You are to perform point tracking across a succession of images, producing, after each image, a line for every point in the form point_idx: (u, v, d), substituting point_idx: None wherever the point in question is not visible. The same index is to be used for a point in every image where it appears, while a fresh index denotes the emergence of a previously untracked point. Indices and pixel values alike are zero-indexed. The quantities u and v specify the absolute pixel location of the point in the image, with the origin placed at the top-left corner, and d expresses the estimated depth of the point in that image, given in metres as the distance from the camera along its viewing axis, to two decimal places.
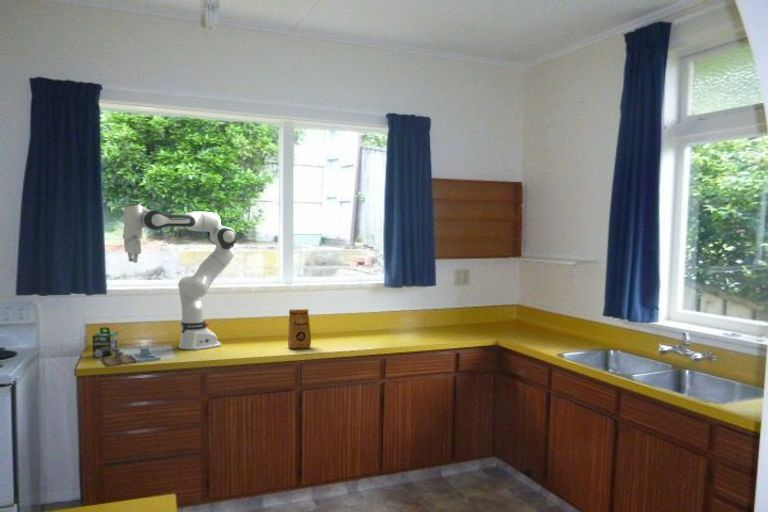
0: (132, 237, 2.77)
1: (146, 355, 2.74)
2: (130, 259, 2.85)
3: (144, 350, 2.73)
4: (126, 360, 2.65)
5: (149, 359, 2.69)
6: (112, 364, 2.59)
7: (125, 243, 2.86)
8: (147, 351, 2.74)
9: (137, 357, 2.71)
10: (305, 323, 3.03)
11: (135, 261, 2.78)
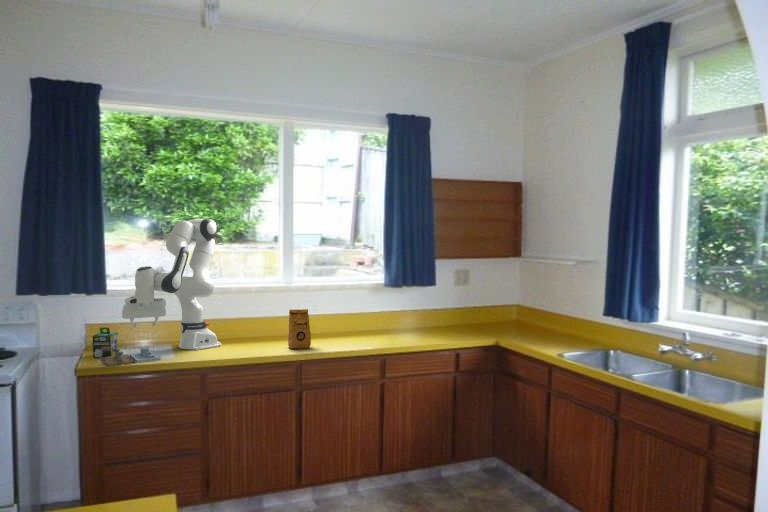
0: (153, 300, 2.75)
1: (146, 355, 2.74)
2: None
3: (144, 350, 2.73)
4: (126, 360, 2.65)
5: (149, 359, 2.69)
6: (112, 364, 2.59)
7: (128, 309, 2.67)
8: (147, 351, 2.74)
9: (137, 357, 2.71)
10: (305, 323, 3.03)
11: None
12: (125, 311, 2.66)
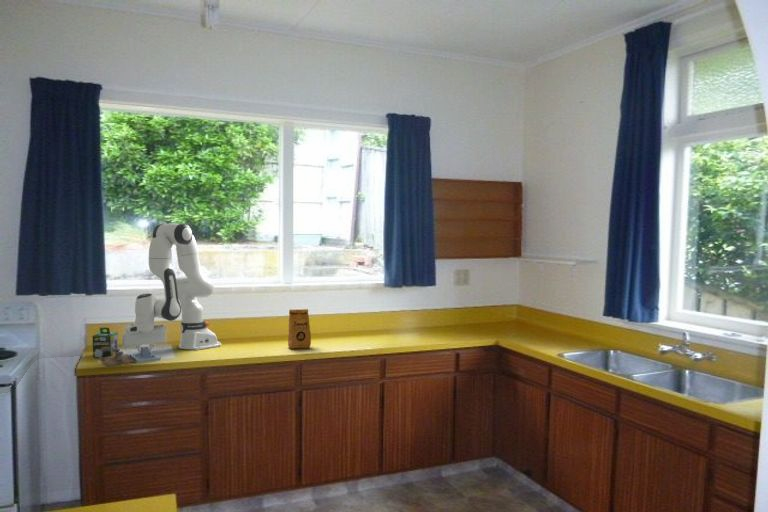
0: (154, 327, 2.76)
1: (146, 355, 2.74)
2: None
3: (144, 350, 2.73)
4: (126, 360, 2.65)
5: (149, 359, 2.69)
6: (112, 364, 2.59)
7: (128, 337, 2.68)
8: (147, 351, 2.74)
9: (137, 357, 2.71)
10: (305, 323, 3.03)
11: None
12: (125, 339, 2.67)
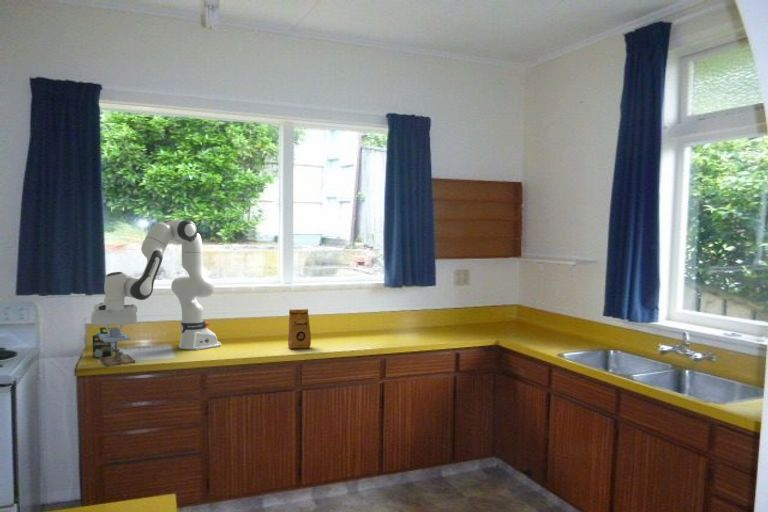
0: (124, 307, 2.67)
1: (116, 335, 2.64)
2: None
3: (113, 330, 2.64)
4: (126, 360, 2.65)
5: (118, 339, 2.60)
6: (112, 364, 2.59)
7: (97, 316, 2.59)
8: (117, 331, 2.65)
9: (106, 337, 2.62)
10: (305, 323, 3.03)
11: None
12: (94, 318, 2.58)
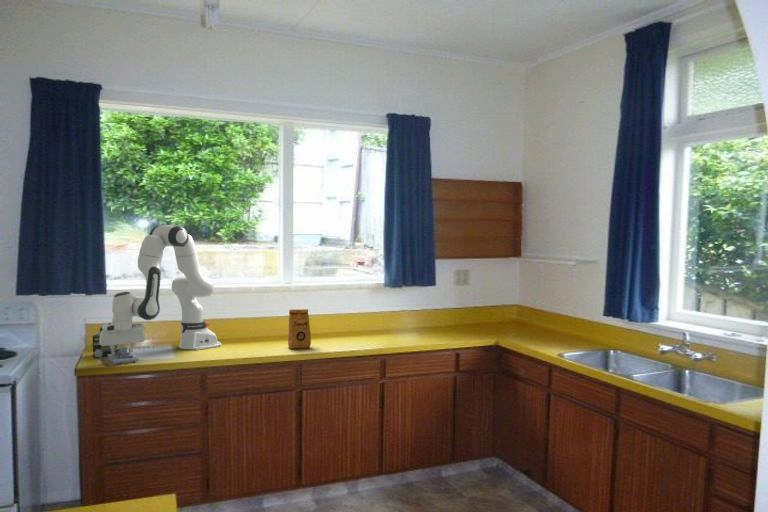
0: (132, 326, 2.70)
1: (124, 355, 2.67)
2: None
3: (122, 350, 2.67)
4: None
5: (127, 359, 2.63)
6: (112, 364, 2.59)
7: (105, 336, 2.62)
8: (125, 351, 2.67)
9: (115, 357, 2.65)
10: (305, 323, 3.03)
11: None
12: (102, 338, 2.61)
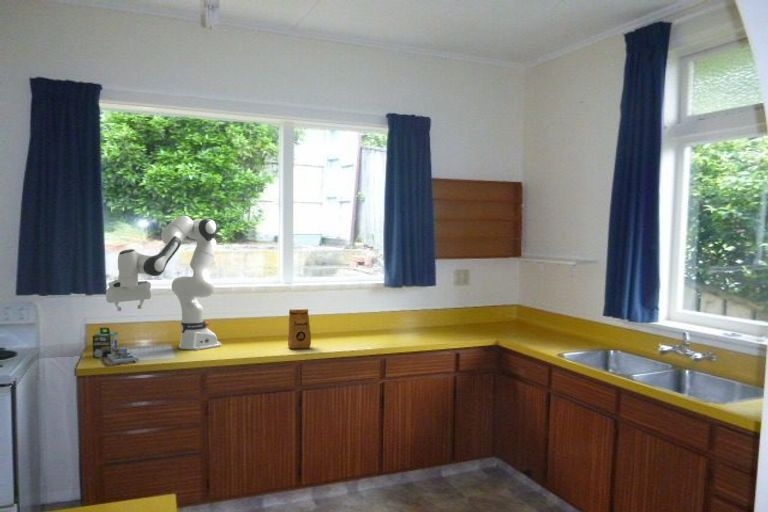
0: (138, 283, 2.73)
1: (124, 355, 2.67)
2: None
3: (122, 350, 2.67)
4: None
5: (127, 359, 2.63)
6: (112, 364, 2.59)
7: (112, 293, 2.65)
8: (125, 351, 2.67)
9: (115, 357, 2.65)
10: (305, 323, 3.03)
11: None
12: (109, 295, 2.64)
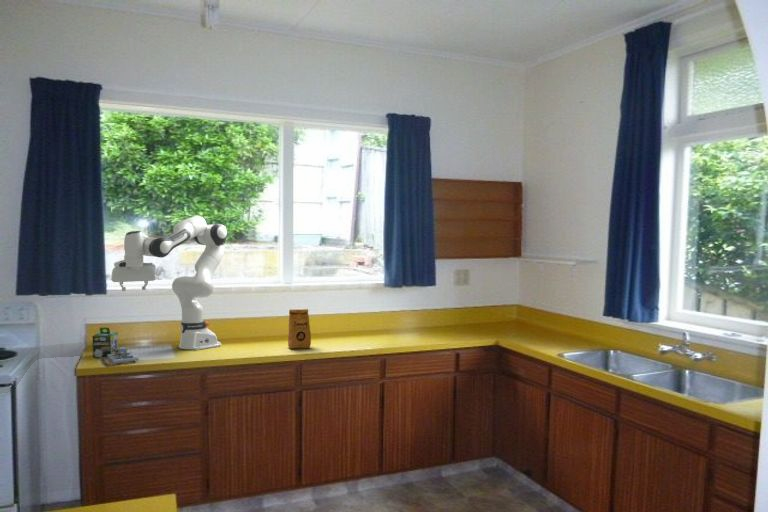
0: (143, 265, 2.76)
1: (124, 355, 2.67)
2: None
3: (122, 350, 2.67)
4: None
5: (127, 359, 2.63)
6: (112, 364, 2.59)
7: (117, 272, 2.69)
8: (125, 351, 2.67)
9: (115, 357, 2.65)
10: (305, 323, 3.03)
11: None
12: (114, 274, 2.68)
